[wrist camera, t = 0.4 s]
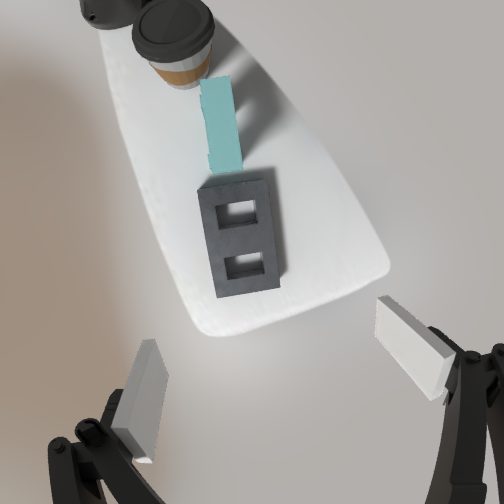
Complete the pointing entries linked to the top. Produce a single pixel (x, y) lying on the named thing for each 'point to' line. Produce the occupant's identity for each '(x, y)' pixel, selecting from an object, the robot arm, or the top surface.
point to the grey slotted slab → (240, 238)
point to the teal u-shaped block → (221, 125)
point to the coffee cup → (176, 40)
